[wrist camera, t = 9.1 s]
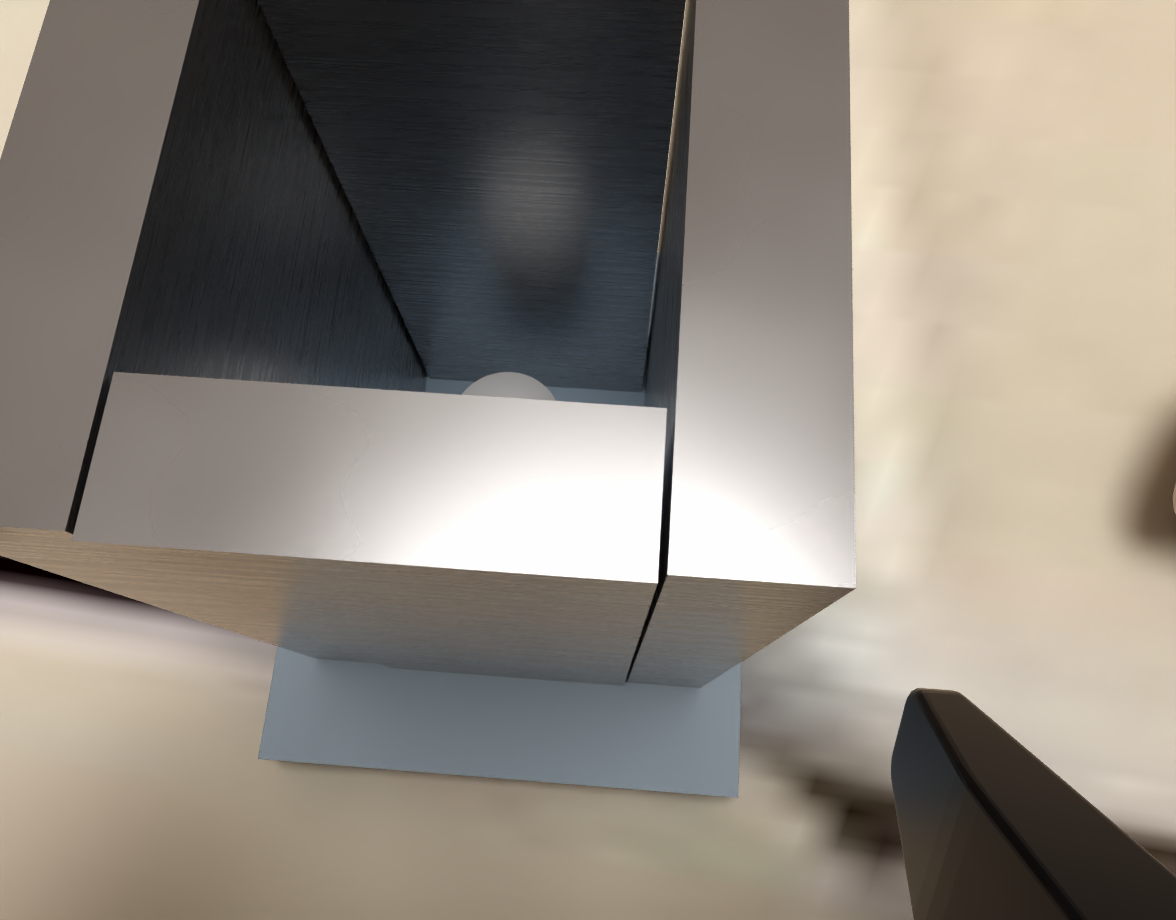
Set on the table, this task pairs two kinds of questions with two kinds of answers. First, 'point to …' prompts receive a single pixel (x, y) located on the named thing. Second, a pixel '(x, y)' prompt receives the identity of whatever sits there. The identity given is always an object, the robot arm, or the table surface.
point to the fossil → (1174, 499)
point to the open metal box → (437, 325)
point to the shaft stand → (507, 702)
